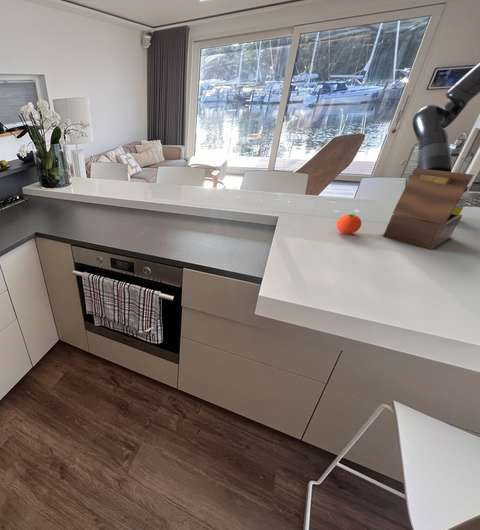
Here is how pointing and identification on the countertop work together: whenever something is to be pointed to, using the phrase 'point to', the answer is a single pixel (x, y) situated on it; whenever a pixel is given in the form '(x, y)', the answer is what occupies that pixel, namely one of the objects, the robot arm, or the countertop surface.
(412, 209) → the lid
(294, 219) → the countertop surface
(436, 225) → the chest
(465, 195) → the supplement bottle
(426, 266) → the countertop surface
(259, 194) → the countertop surface
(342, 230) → the clementine
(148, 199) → the countertop surface
